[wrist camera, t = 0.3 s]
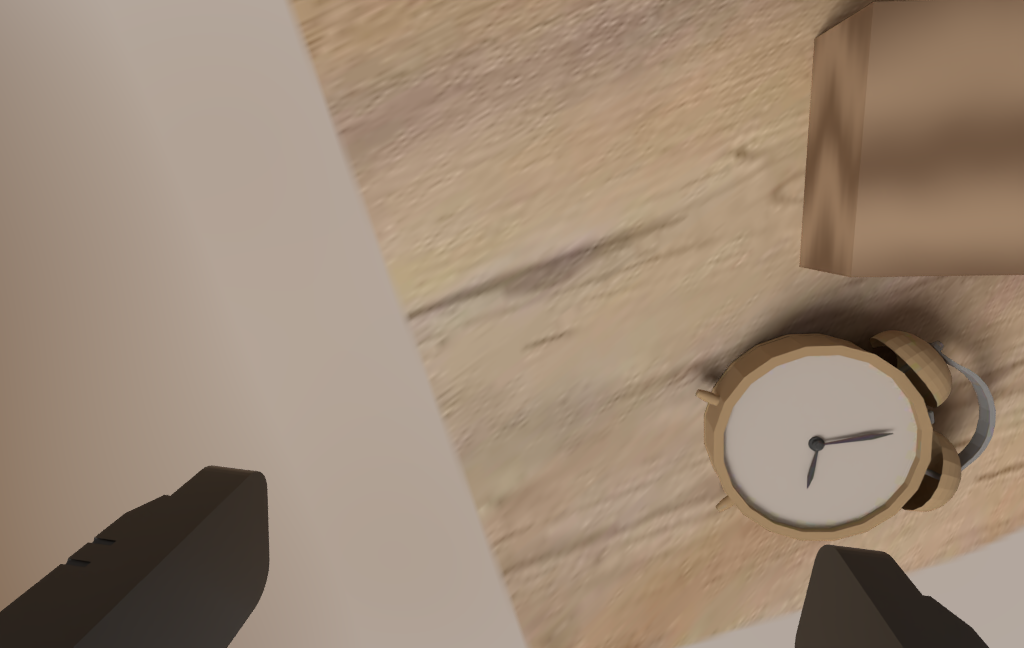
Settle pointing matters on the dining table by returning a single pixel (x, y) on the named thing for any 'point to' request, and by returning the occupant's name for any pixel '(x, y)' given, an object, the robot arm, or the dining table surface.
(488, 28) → the dining table surface
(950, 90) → the walnut block
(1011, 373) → the dining table surface
